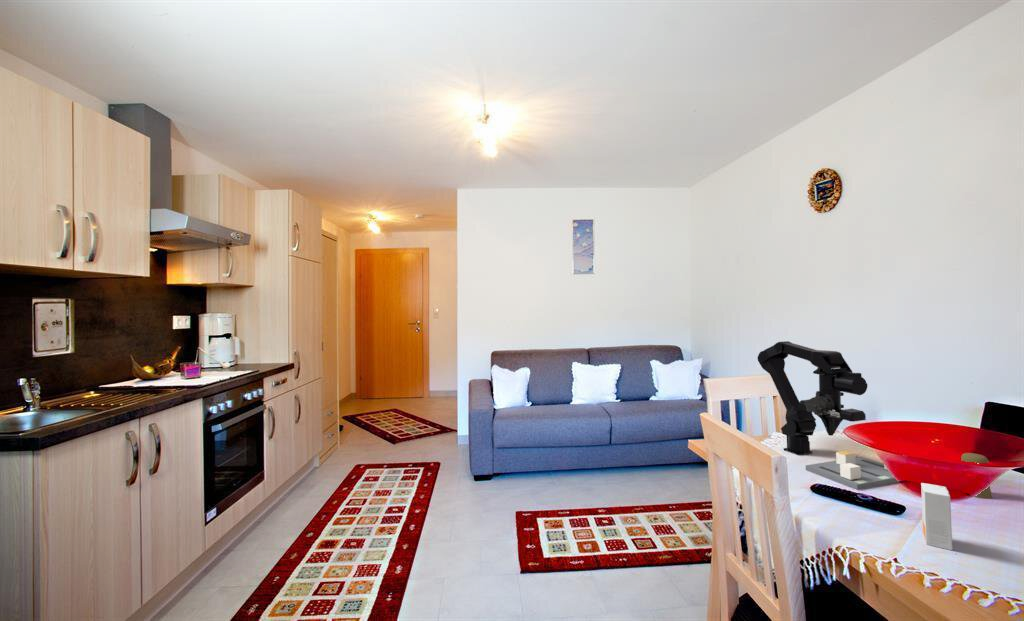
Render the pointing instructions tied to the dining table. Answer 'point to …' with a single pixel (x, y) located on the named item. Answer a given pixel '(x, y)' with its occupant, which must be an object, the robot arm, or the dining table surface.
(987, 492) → the cork
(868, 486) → the panel
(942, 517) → the skincare box
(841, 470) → the block
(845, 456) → the block
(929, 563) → the dining table surface
